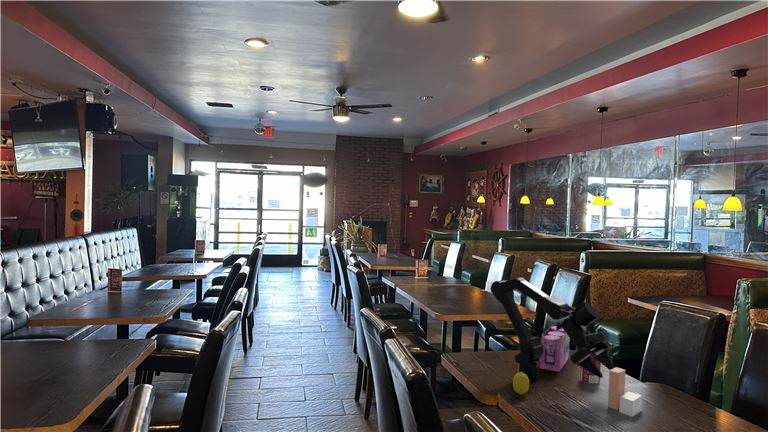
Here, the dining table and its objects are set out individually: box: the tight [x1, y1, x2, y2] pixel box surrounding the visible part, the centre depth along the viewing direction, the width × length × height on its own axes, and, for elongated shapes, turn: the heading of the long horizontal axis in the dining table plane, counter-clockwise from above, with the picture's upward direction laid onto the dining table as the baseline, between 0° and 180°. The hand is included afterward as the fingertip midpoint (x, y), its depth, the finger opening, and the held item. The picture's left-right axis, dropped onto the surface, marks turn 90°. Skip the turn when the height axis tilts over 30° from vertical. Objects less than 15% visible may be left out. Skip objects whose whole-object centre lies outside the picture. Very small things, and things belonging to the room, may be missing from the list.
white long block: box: [617, 391, 643, 417], centre depth 156 cm, size 18×7×6 cm, turn 41°
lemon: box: [512, 372, 530, 396], centre depth 163 cm, size 6×6×8 cm
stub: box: [607, 366, 626, 411], centre depth 154 cm, size 3×5×12 cm, turn 131°
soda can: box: [579, 354, 602, 385], centre depth 176 cm, size 7×7×12 cm
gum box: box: [539, 323, 571, 373], centre depth 197 cm, size 24×8×14 cm, turn 150°
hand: (608, 374), depth 156 cm, fingers open, 9 cm apart
